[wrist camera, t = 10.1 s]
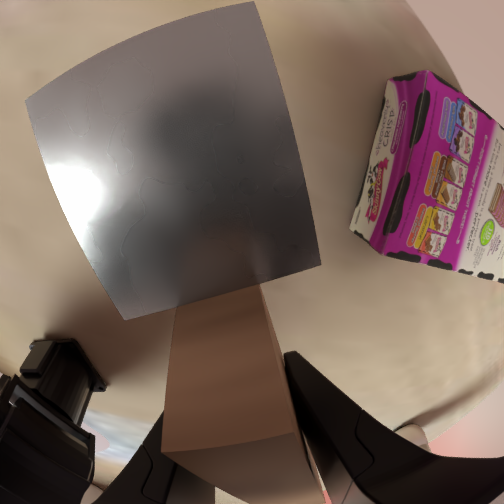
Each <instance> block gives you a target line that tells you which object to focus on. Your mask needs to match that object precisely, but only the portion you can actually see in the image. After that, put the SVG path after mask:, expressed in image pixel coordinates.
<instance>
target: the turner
mask: <svg viewBox="0 0 504 504" xmlns="http://www.w3.org/2000/svg"><path fill="white" fill-rule="evenodd" d="M25 103H26V107H27V110H28V114H29V118H30V121H31V125H32V128H33V131H34V135H35V138H36V141H37V144H38V147H39V150H40V153H41V156H42V158H43V161H44V164H45V167H46V169H47V172H48V175H49V177H50V180H51V182H52V185H53V187H54V190H55V192H56V194H57V197H58V199H59V201H60V204H61V206H62V208H63V210H64V213H65V215H66V217H67V219H68V221H69V223H70V225H71V227H72V230H73V232H74V234H75V236H76V238H77V240H78V242H79V244H80V246H81V247H82V249H83V251H84V253H85V255H86V257H87V259H88V261H89V262H90V264H91V266H92V268H93V270H94V271H95V273H96V275H97V277H98V278H99V280H100V282H101V284H102V285H103V287H104V289H105V290H106V292H107V294H108V295H109V297H110V299H111V300H112V302H113V303H114V305H115V307H116V308H117V310H118V311H119V313H120V314H121V316H122V317H123V319H124V320H129V319H133V318H137V317H141V316H145V315H148V314H152V313H156V312H160V311H164V310H168V309H171V308H175V307H177V309H176V315H175V322H174V329H173V336H172V344H171V351H170V359H169V368H168V376H167V385H166V395H165V406H164V417H163V430H162V444H161V452H162V453H163V454H164V455H166V456H167V457H169V458H170V459H172V460H173V461H175V462H176V463H178V464H179V465H181V466H182V467H184V468H185V469H187V470H188V471H190V472H192V473H193V474H195V475H196V476H198V477H200V478H201V479H203V480H205V481H207V482H208V483H210V484H212V485H214V486H215V487H217V488H219V489H221V490H223V491H225V492H227V493H229V494H231V495H232V496H234V497H236V498H239V499H241V500H243V501H245V502H247V503H249V504H324V503H326V502H325V498H324V494H323V491H322V487H321V483H320V479H319V476H318V472H317V468H316V464H315V461H314V458H313V456H312V454H311V451H310V449H309V446H308V444H307V441H306V439H305V436H304V434H303V431H302V428H301V425H300V421H299V418H298V415H297V411H296V408H295V404H294V400H293V397H292V393H291V389H290V385H289V381H288V377H287V374H286V370H285V364H284V359H283V355H282V352H281V349H280V346H279V343H278V340H277V337H276V334H275V331H274V328H273V325H272V322H271V318H270V315H269V312H268V309H267V306H266V303H265V300H264V297H263V294H262V291H261V287H260V283H264V282H267V281H270V280H274V279H277V278H280V277H284V276H287V275H290V274H294V273H297V272H300V271H303V270H307V269H310V268H313V267H316V266H319V265H321V260H320V254H319V248H318V242H317V237H316V232H315V226H314V221H313V216H312V211H311V206H310V201H309V196H308V192H307V187H306V182H305V178H304V173H303V169H302V164H301V160H300V156H299V152H298V147H297V143H296V139H295V135H294V131H293V127H292V123H291V120H290V116H289V112H288V108H287V104H286V101H285V97H284V94H283V90H282V87H281V83H280V80H279V76H278V73H277V69H276V66H275V63H274V60H273V56H272V53H271V50H270V47H269V44H268V41H267V37H266V34H265V31H264V28H263V25H262V22H261V20H260V17H259V14H258V11H257V8H256V5H255V3H254V1H252V2H246V3H241V4H236V5H231V6H226V7H222V8H218V9H214V10H210V11H206V12H202V13H199V14H195V15H192V16H188V17H185V18H182V19H179V20H176V21H173V22H170V23H167V24H164V25H162V26H159V27H156V28H154V29H151V30H148V31H146V32H143V33H141V34H139V35H136V36H134V37H132V38H129V39H127V40H125V41H123V42H120V43H118V44H116V45H114V46H112V47H110V48H108V49H106V50H104V51H102V52H100V53H98V54H96V55H94V56H93V57H91V58H89V59H87V60H85V61H84V62H82V63H80V64H78V65H77V66H75V67H73V68H72V69H70V70H68V71H67V72H65V73H64V74H62V75H60V76H59V77H57V78H56V79H54V80H53V81H51V82H50V83H48V84H47V85H45V86H44V87H42V88H41V89H40V90H38V91H37V92H36V93H34V94H33V95H31V96H30V97H29V98H27V99H26V100H25Z"/></svg>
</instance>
